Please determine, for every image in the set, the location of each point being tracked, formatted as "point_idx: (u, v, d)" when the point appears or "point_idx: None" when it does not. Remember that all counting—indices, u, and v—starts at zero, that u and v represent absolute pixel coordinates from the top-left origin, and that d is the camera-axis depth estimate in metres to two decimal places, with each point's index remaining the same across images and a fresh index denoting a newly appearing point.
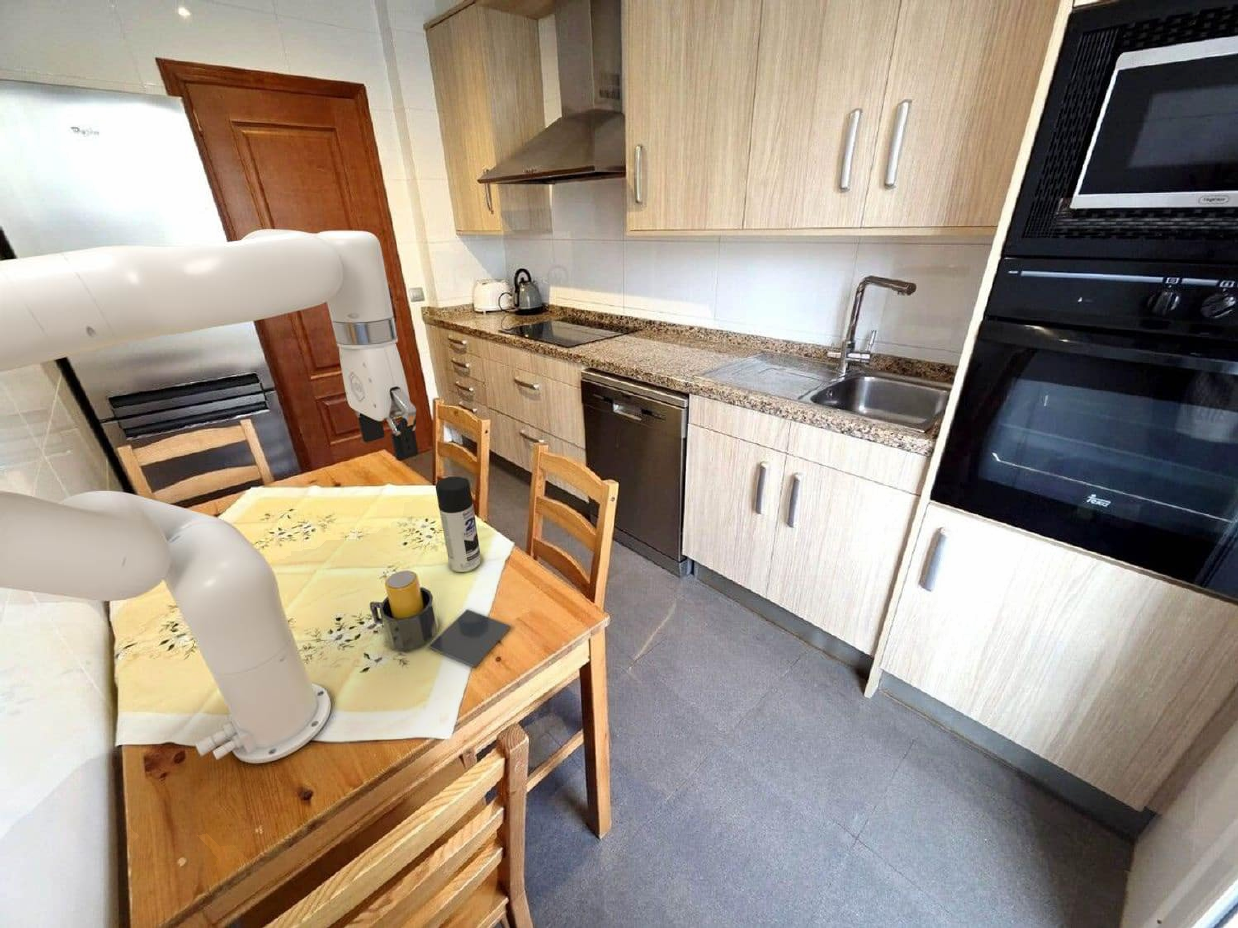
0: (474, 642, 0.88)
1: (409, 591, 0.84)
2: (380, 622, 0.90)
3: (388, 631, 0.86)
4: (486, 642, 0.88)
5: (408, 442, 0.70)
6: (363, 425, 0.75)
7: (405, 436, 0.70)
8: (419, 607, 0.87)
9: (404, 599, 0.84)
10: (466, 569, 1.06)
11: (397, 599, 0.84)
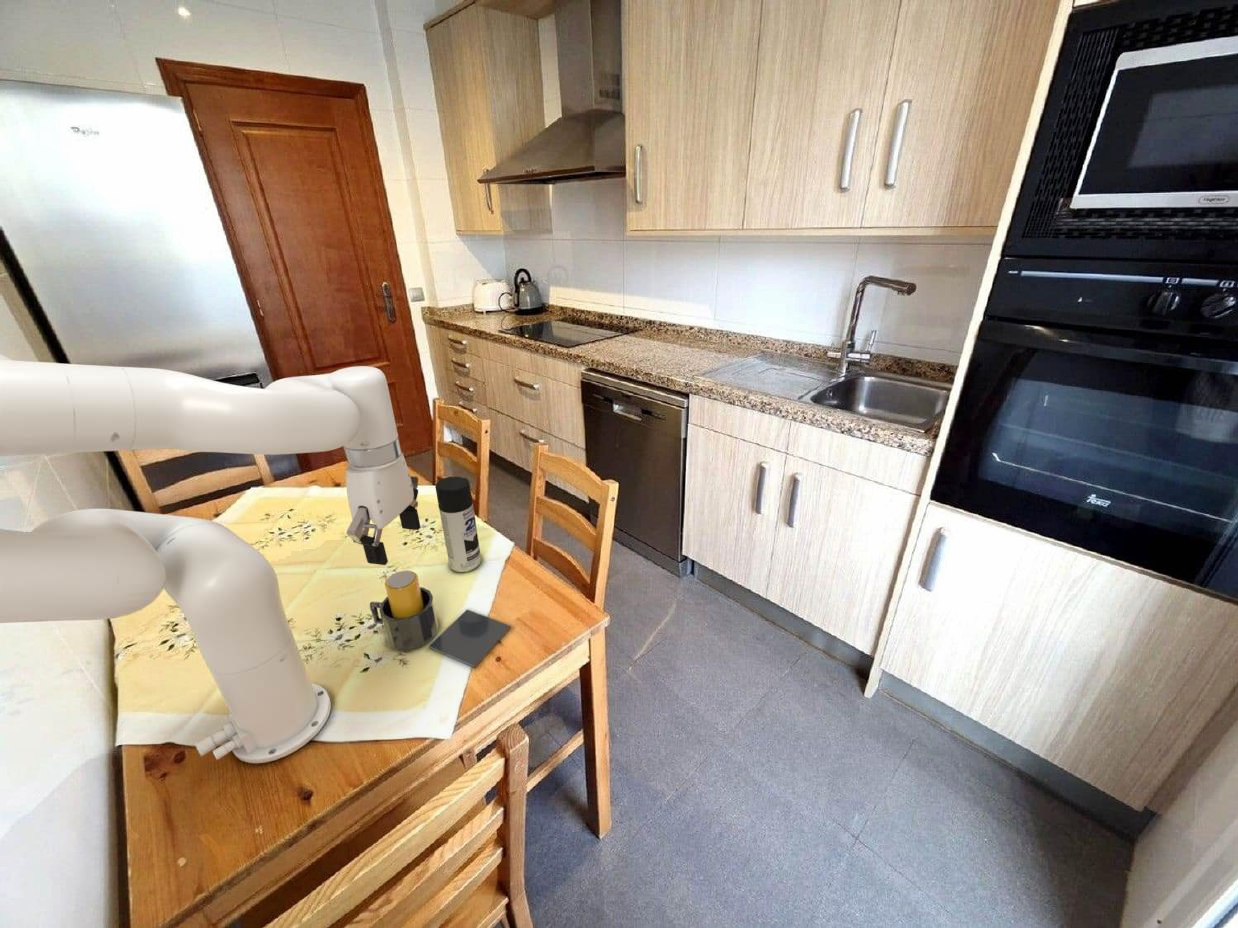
0: (474, 642, 0.88)
1: (409, 591, 0.84)
2: (380, 622, 0.90)
3: (388, 631, 0.86)
4: (486, 642, 0.88)
5: (371, 553, 0.76)
6: (400, 515, 0.85)
7: (368, 547, 0.76)
8: (419, 607, 0.87)
9: (404, 599, 0.84)
10: (466, 569, 1.06)
11: (397, 599, 0.84)
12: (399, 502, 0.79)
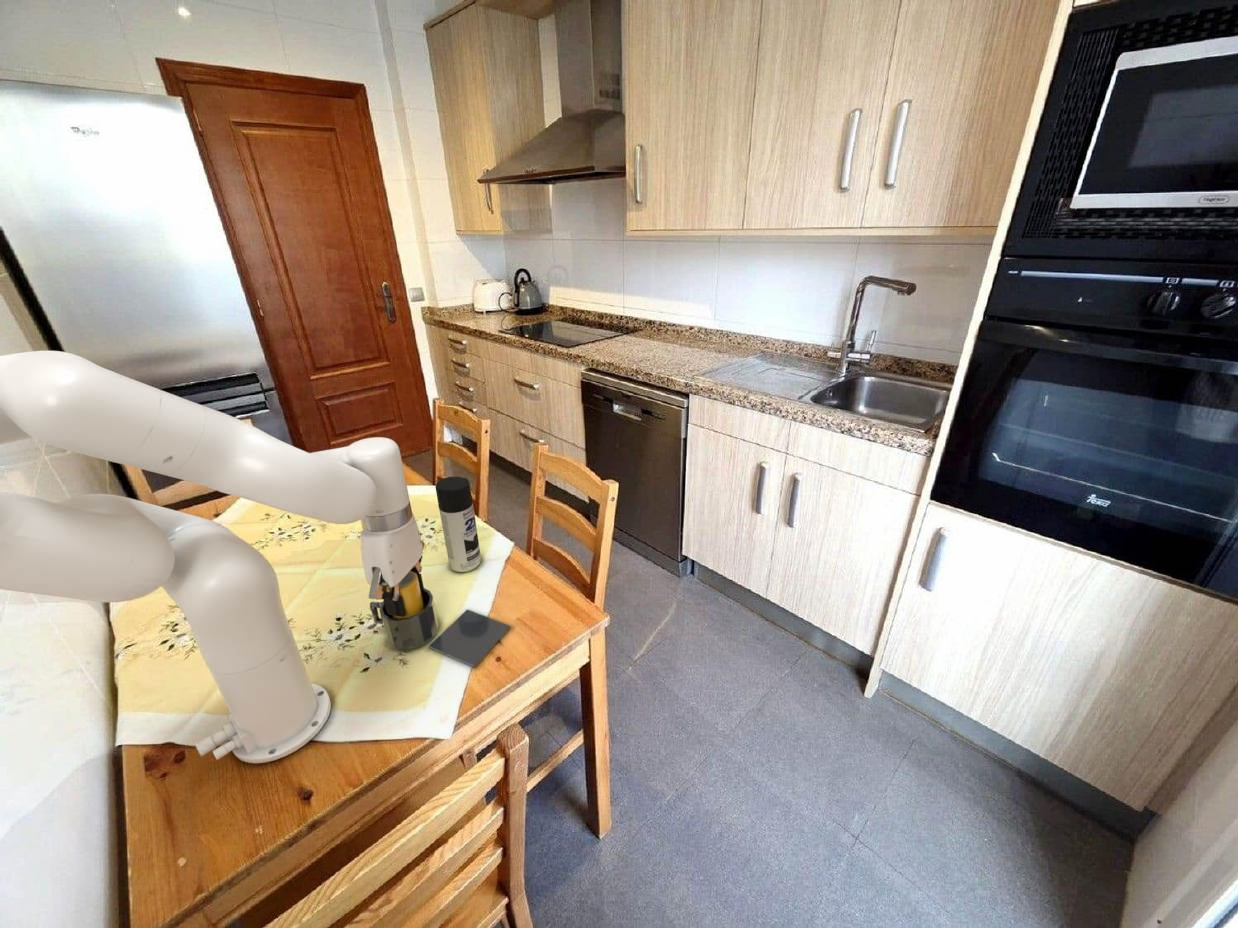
0: (474, 642, 0.88)
1: (409, 591, 0.84)
2: (380, 622, 0.90)
3: (388, 631, 0.86)
4: (486, 642, 0.88)
5: (391, 606, 0.83)
6: None
7: (388, 601, 0.83)
8: (419, 607, 0.87)
9: (404, 599, 0.84)
10: (466, 569, 1.06)
11: None
12: (409, 560, 0.83)
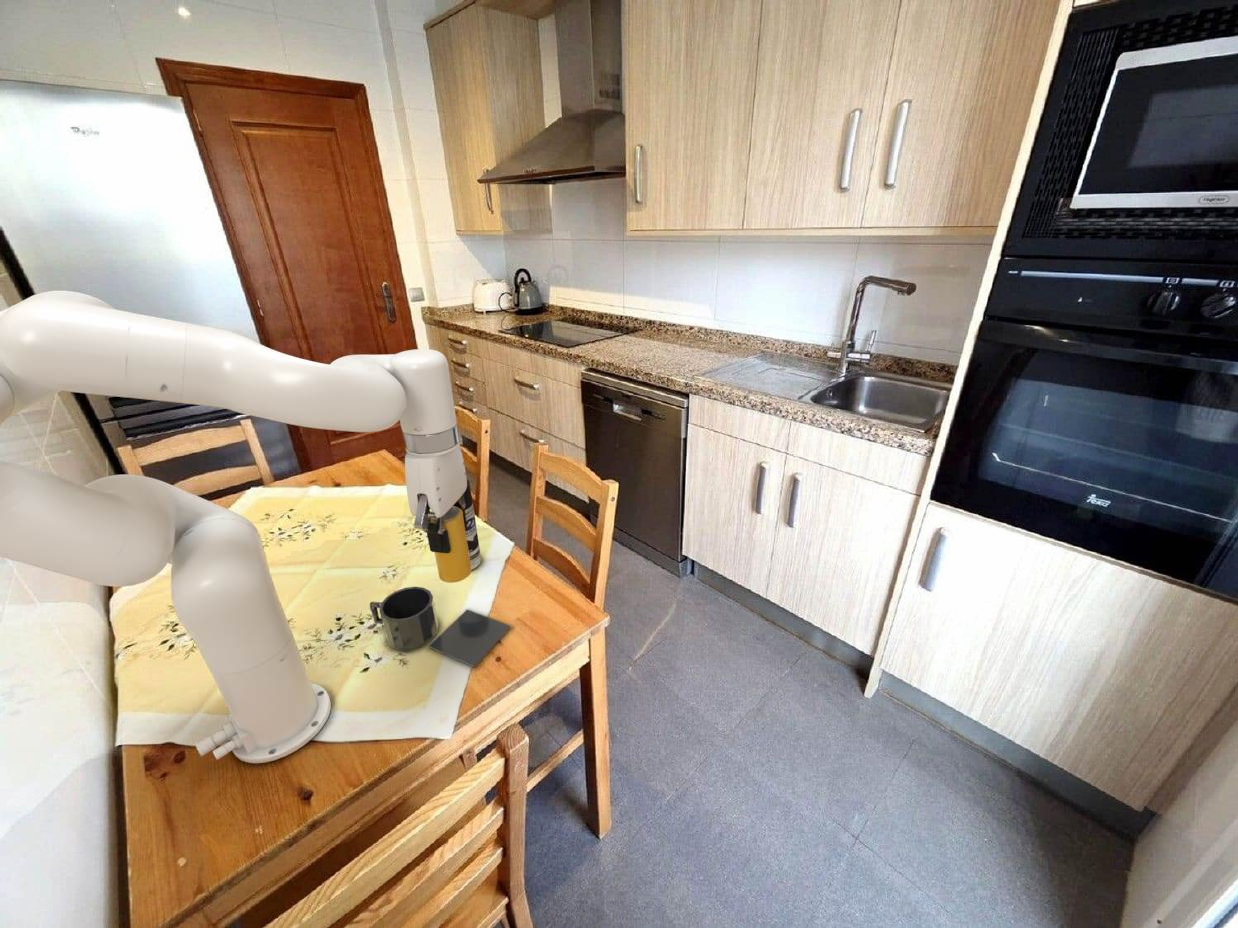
0: (474, 642, 0.88)
1: (454, 525, 0.77)
2: (380, 622, 0.90)
3: (388, 631, 0.86)
4: (486, 642, 0.88)
5: (435, 541, 0.76)
6: None
7: (433, 535, 0.76)
8: (463, 545, 0.80)
9: (449, 533, 0.77)
10: None
11: None
12: (455, 491, 0.76)
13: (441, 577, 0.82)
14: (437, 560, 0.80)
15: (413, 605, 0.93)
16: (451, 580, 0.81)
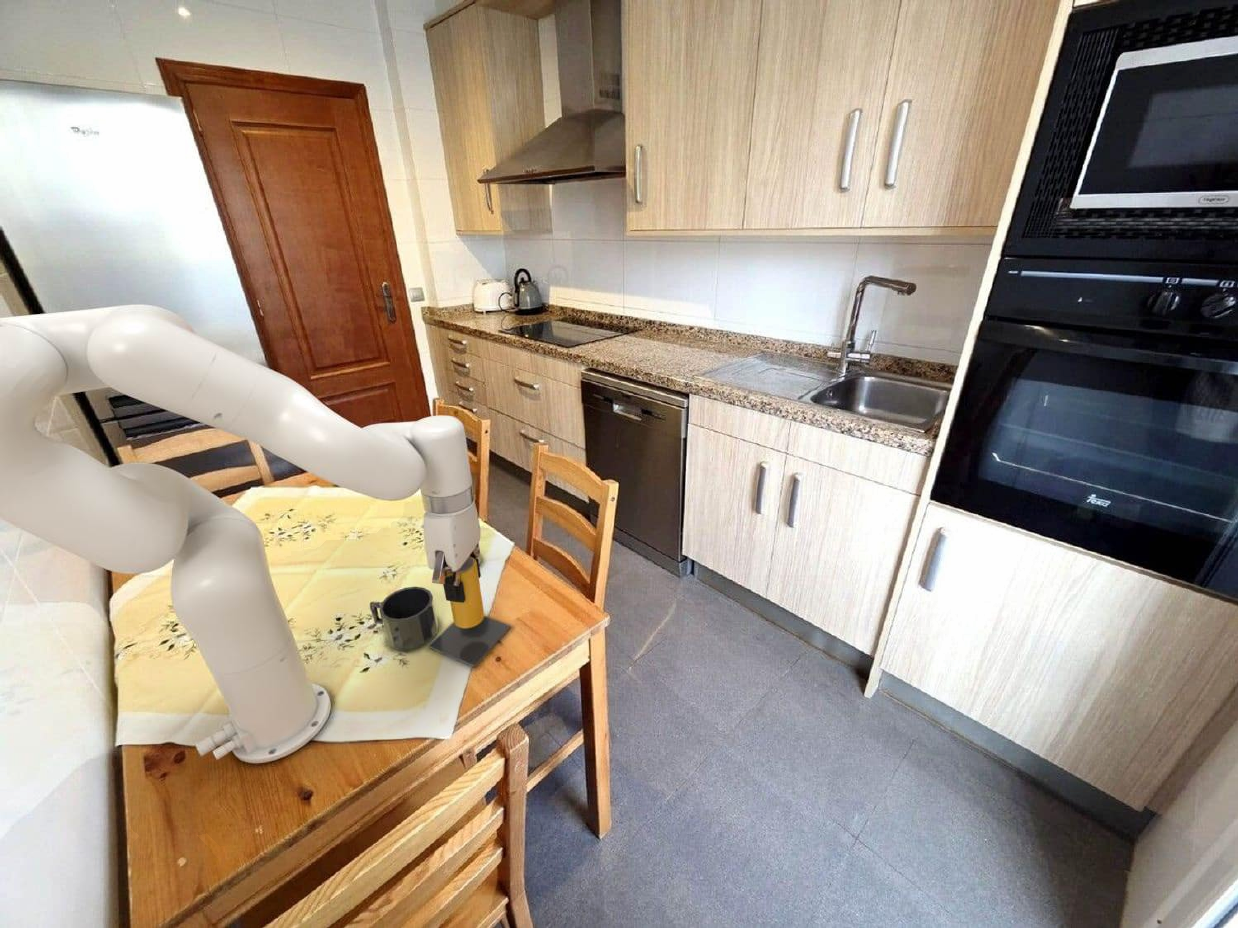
0: (474, 642, 0.88)
1: (469, 576, 0.82)
2: (380, 622, 0.90)
3: (388, 631, 0.86)
4: (486, 642, 0.88)
5: (451, 592, 0.80)
6: None
7: (449, 587, 0.80)
8: (477, 593, 0.84)
9: (464, 584, 0.82)
10: None
11: None
12: (470, 544, 0.81)
13: (456, 623, 0.86)
14: (452, 607, 0.84)
15: (413, 605, 0.93)
16: (465, 626, 0.85)
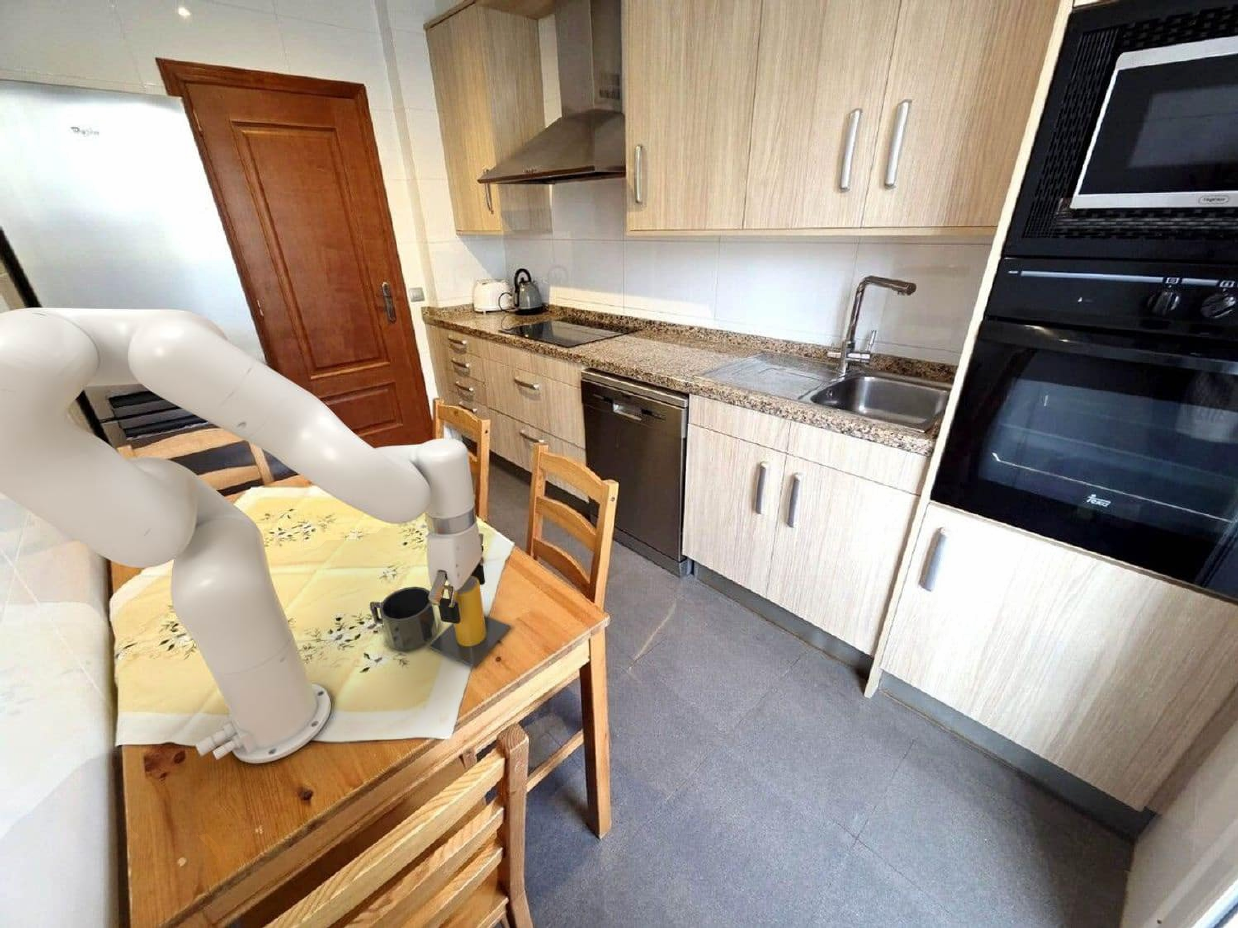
0: None
1: (472, 596, 0.83)
2: (380, 622, 0.90)
3: (388, 631, 0.86)
4: (486, 642, 0.88)
5: (446, 613, 0.80)
6: None
7: (444, 608, 0.79)
8: (480, 612, 0.86)
9: (467, 604, 0.83)
10: None
11: (460, 604, 0.83)
12: (471, 563, 0.82)
13: (458, 641, 0.88)
14: (455, 626, 0.86)
15: (413, 605, 0.93)
16: (468, 644, 0.87)
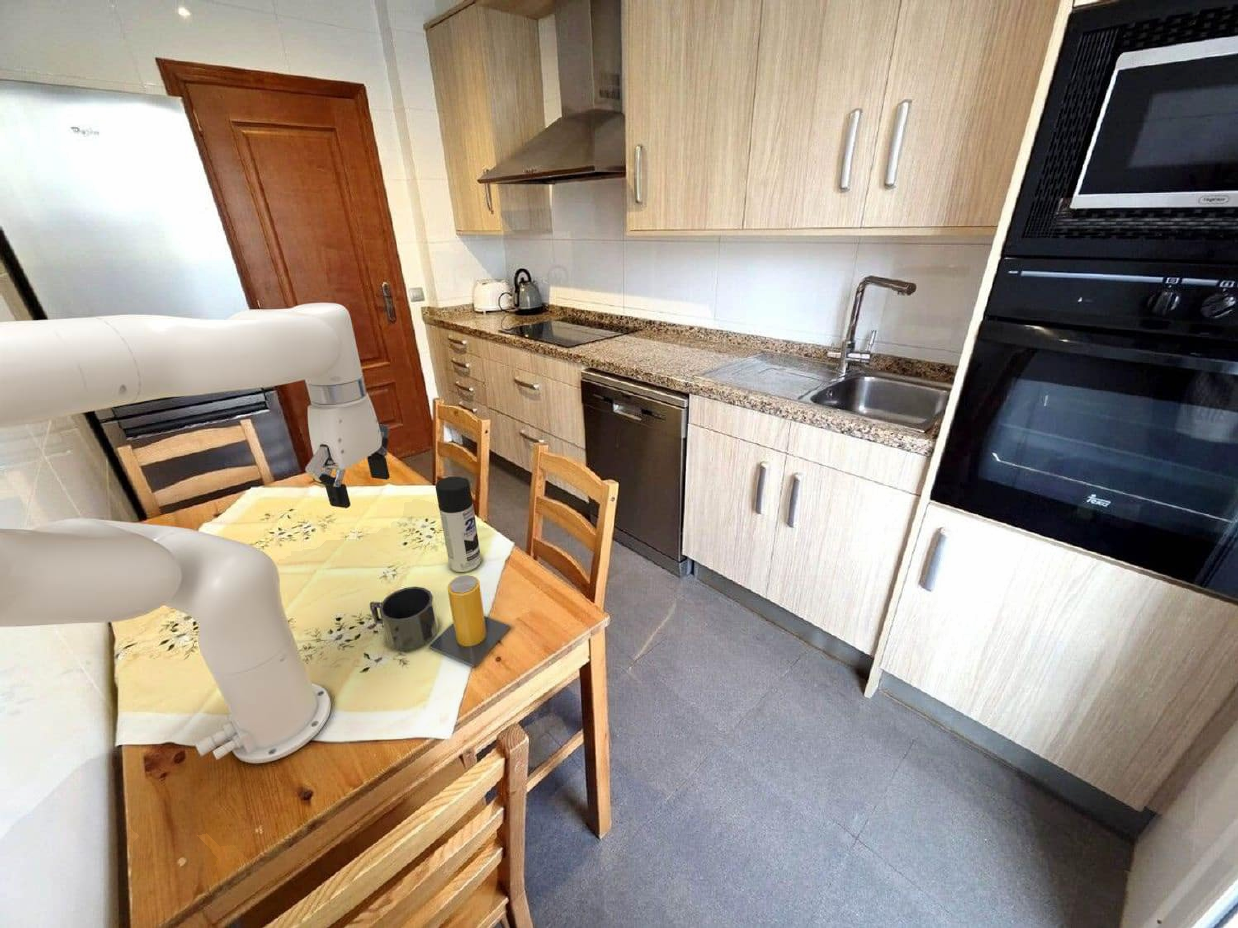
0: None
1: (472, 596, 0.83)
2: (380, 622, 0.90)
3: (388, 631, 0.86)
4: (486, 642, 0.88)
5: (332, 494, 0.76)
6: (369, 463, 0.85)
7: (329, 488, 0.75)
8: (480, 612, 0.86)
9: (467, 604, 0.83)
10: (466, 569, 1.06)
11: (460, 604, 0.83)
12: (364, 446, 0.78)
13: (458, 641, 0.88)
14: (455, 626, 0.86)
15: (413, 605, 0.93)
16: (468, 644, 0.87)
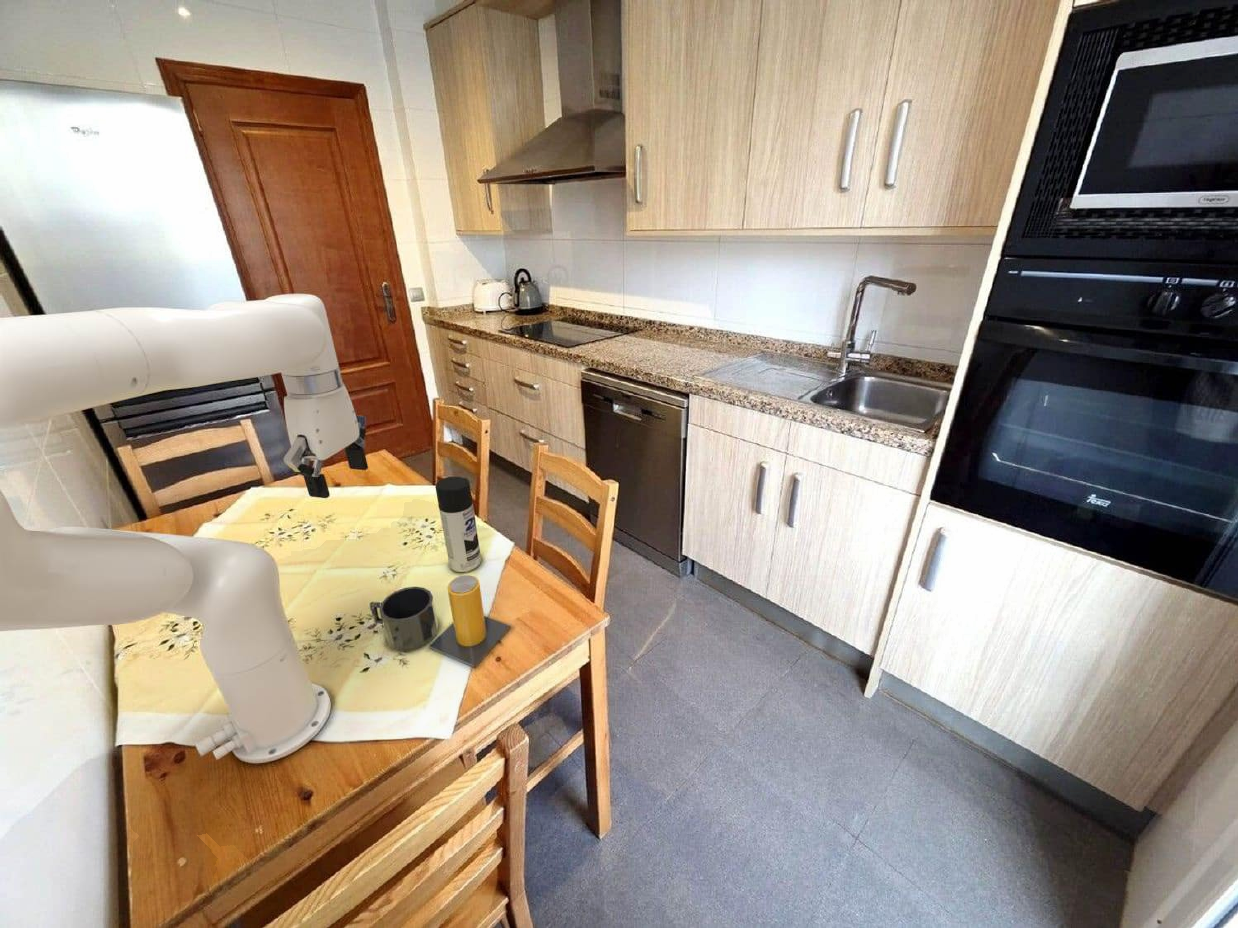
0: None
1: (472, 596, 0.83)
2: (380, 622, 0.90)
3: (388, 631, 0.86)
4: (486, 642, 0.88)
5: (311, 484, 0.76)
6: (347, 454, 0.85)
7: (308, 478, 0.76)
8: (480, 612, 0.86)
9: (467, 604, 0.83)
10: (466, 569, 1.06)
11: (460, 604, 0.83)
12: (341, 436, 0.79)
13: (458, 641, 0.88)
14: (455, 626, 0.86)
15: (413, 605, 0.93)
16: (468, 644, 0.87)
